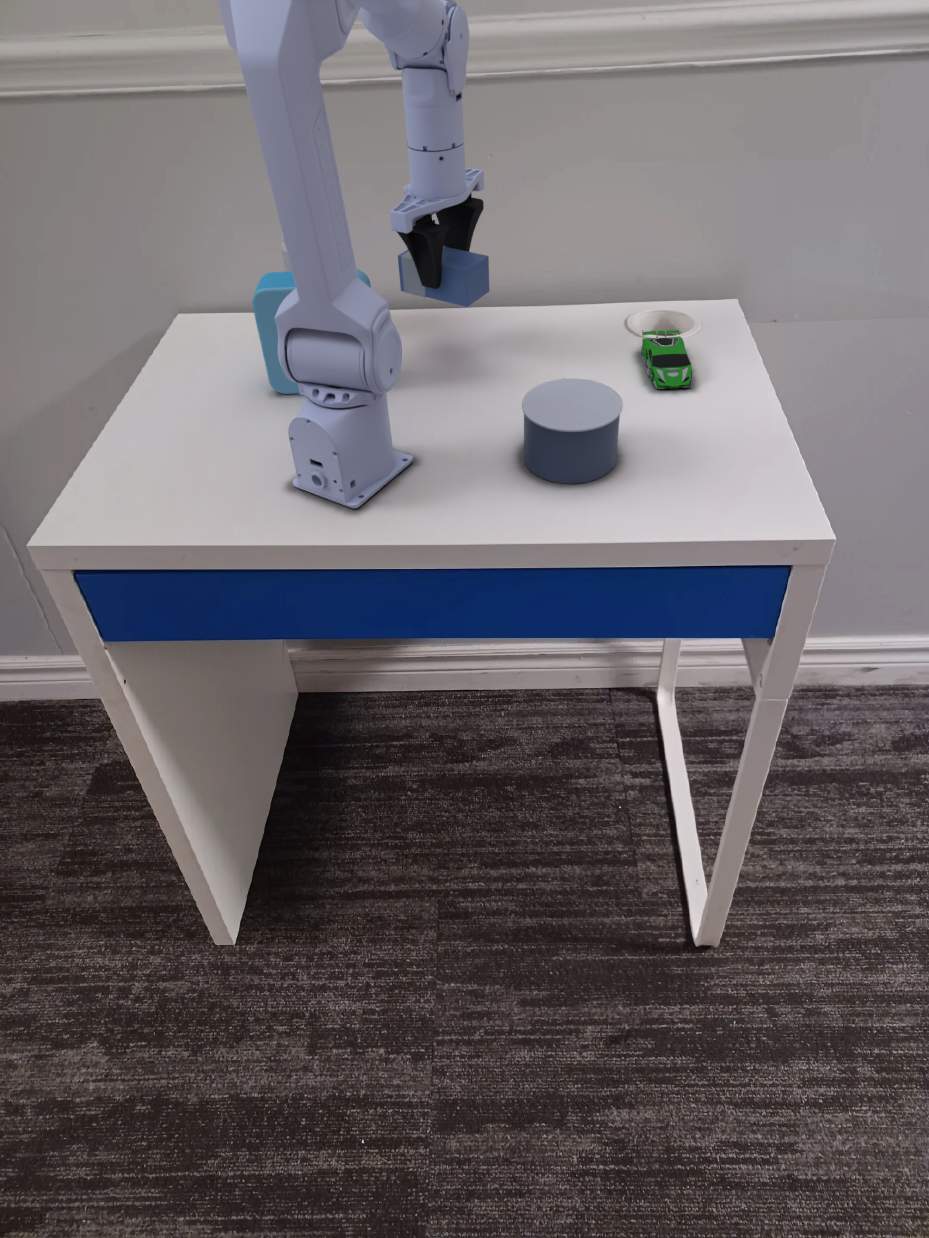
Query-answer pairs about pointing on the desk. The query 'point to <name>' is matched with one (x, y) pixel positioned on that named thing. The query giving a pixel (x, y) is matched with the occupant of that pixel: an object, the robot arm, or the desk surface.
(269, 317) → the data package
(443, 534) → the desk surface
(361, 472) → the robot arm
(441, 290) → the block
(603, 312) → the desk surface
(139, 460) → the desk surface
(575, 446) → the yogurt tub
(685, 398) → the desk surface
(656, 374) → the toy car
